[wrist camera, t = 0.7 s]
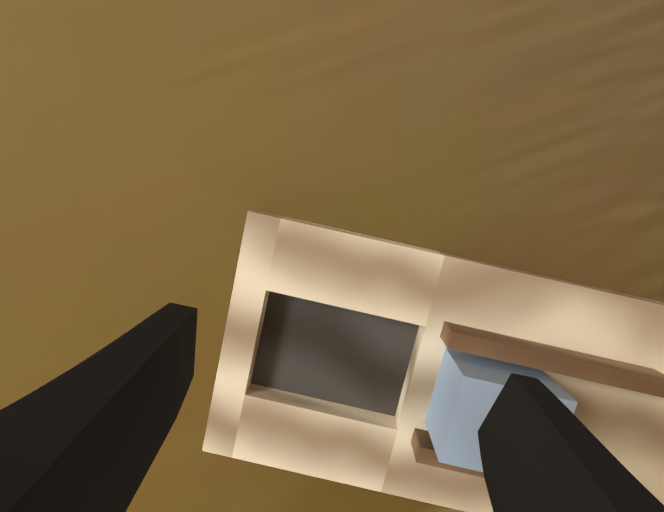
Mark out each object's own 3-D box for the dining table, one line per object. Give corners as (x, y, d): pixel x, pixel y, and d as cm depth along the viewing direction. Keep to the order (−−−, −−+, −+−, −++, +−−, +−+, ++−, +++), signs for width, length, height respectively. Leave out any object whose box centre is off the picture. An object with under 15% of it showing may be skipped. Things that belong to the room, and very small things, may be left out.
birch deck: (714, 548, 28) (742, 575, 26) (212, 432, 28) (202, 450, 26) (804, 334, 26) (842, 345, 24) (255, 209, 26) (247, 210, 24)
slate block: (517, 442, 25) (548, 487, 22) (424, 421, 25) (438, 461, 22) (540, 369, 25) (577, 402, 21) (445, 347, 25) (463, 376, 21)
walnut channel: (610, 487, 26) (632, 512, 24) (410, 442, 26) (416, 462, 24) (653, 368, 24) (680, 383, 22) (444, 321, 24) (452, 332, 23)
